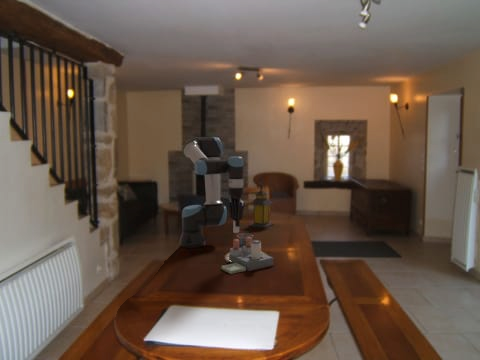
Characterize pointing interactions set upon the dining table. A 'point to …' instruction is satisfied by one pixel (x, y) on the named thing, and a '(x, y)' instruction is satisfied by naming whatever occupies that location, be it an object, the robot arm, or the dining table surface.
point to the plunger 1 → (235, 244)
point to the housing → (249, 259)
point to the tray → (233, 268)
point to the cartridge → (255, 250)
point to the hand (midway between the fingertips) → (236, 232)
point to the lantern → (261, 210)
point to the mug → (243, 239)
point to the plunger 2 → (248, 241)
